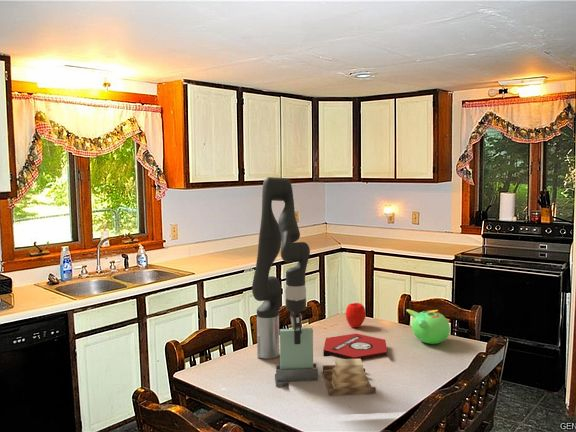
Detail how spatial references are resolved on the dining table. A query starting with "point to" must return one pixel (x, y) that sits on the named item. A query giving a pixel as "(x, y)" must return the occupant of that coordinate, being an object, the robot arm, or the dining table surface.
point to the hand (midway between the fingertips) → (296, 340)
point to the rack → (327, 378)
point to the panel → (296, 349)
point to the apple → (355, 314)
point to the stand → (295, 375)
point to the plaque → (355, 347)
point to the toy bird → (430, 326)
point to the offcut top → (348, 366)
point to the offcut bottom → (348, 384)
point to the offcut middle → (349, 377)
